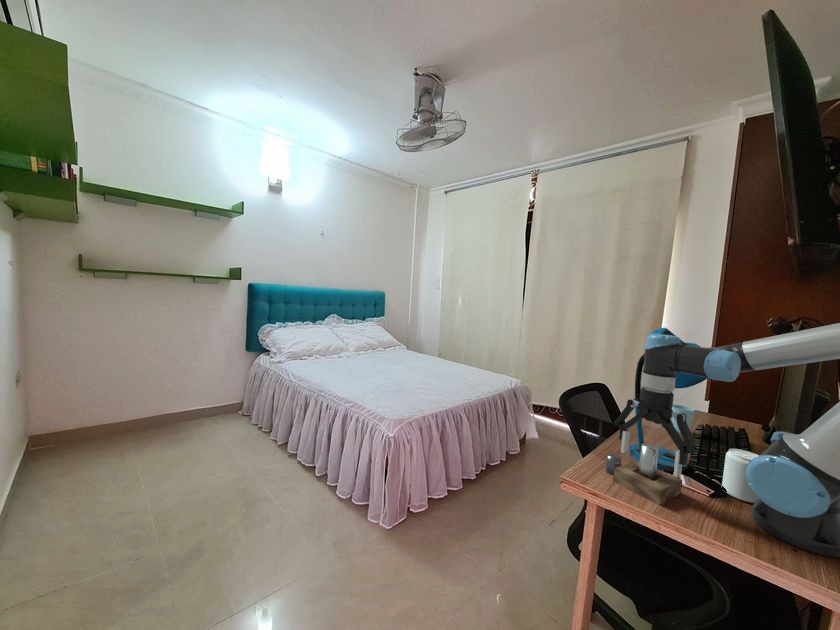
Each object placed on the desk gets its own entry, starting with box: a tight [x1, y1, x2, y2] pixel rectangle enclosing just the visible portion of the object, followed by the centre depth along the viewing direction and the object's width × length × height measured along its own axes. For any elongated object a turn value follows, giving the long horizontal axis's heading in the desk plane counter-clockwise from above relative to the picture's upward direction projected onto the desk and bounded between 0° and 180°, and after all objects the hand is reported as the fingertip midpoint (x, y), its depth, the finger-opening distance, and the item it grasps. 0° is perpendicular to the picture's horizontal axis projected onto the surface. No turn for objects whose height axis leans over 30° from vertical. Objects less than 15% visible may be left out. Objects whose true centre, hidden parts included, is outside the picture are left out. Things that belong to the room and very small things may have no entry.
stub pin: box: [604, 452, 622, 476], centre depth 100 cm, size 4×4×5 cm
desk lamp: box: [628, 327, 709, 471], centre depth 109 cm, size 16×22×45 cm
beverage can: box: [721, 448, 760, 504], centre depth 92 cm, size 8×8×12 cm
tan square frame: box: [612, 459, 683, 506], centre depth 93 cm, size 12×12×4 cm
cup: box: [671, 404, 696, 435], centre depth 137 cm, size 8×8×10 cm
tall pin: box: [638, 443, 659, 481], centre depth 93 cm, size 4×4×12 cm
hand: (649, 462), depth 93 cm, fingers open, 13 cm apart
